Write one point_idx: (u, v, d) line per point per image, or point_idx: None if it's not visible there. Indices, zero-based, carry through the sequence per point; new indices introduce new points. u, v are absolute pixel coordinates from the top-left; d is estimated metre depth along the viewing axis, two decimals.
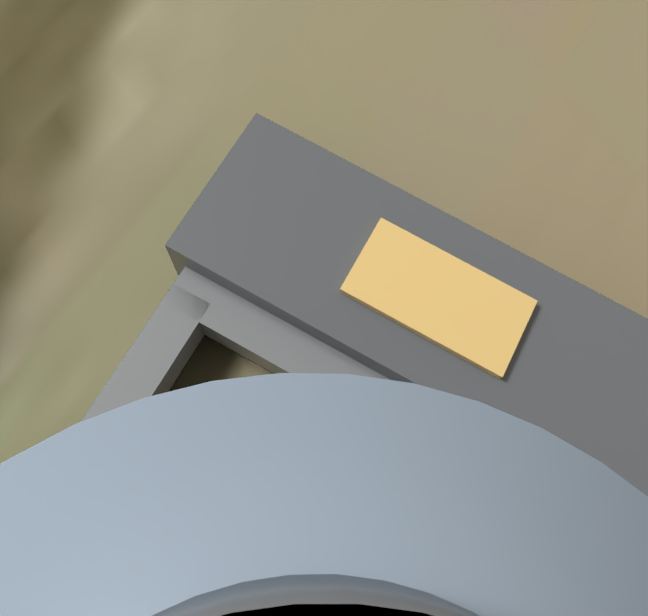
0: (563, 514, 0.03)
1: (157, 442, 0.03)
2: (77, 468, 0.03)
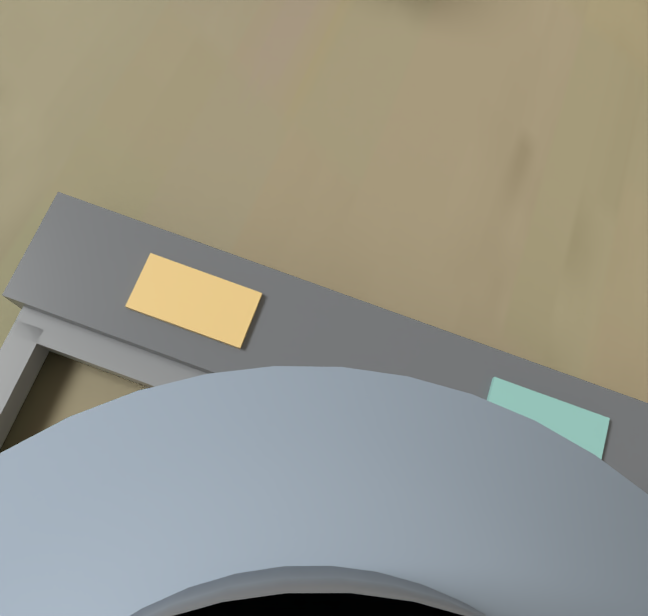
0: (556, 506, 0.03)
1: (151, 434, 0.03)
2: (71, 458, 0.03)
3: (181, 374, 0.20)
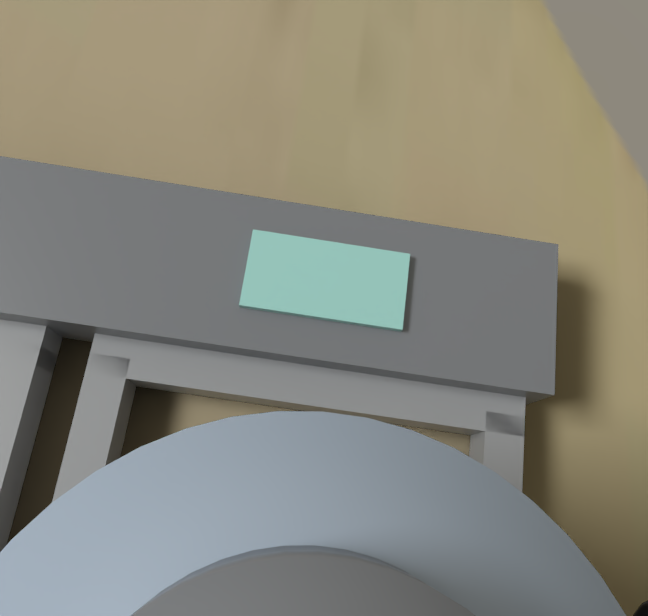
0: (466, 506, 0.04)
1: (195, 458, 0.04)
2: (143, 473, 0.04)
3: None
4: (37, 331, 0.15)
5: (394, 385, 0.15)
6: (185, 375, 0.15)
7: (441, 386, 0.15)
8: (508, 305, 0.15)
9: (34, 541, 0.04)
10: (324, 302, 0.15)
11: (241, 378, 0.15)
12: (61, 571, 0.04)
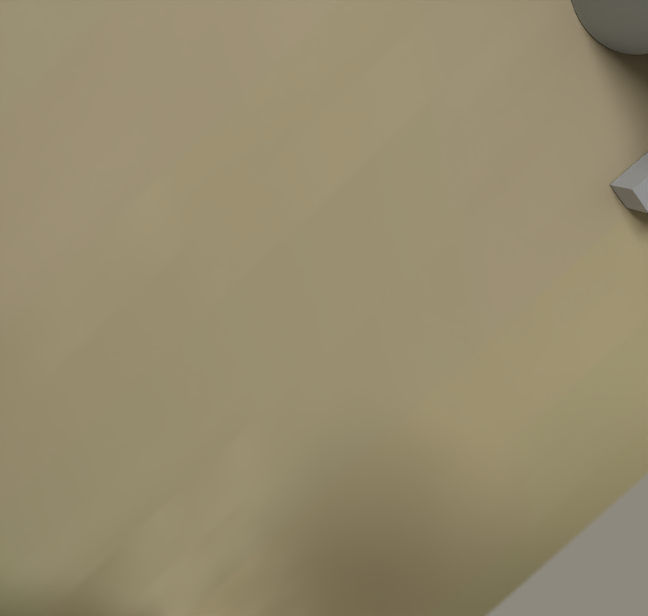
0: None
1: None
2: None
3: None
4: None
5: None
6: None
7: None
8: None
9: None
10: None
11: None
12: None
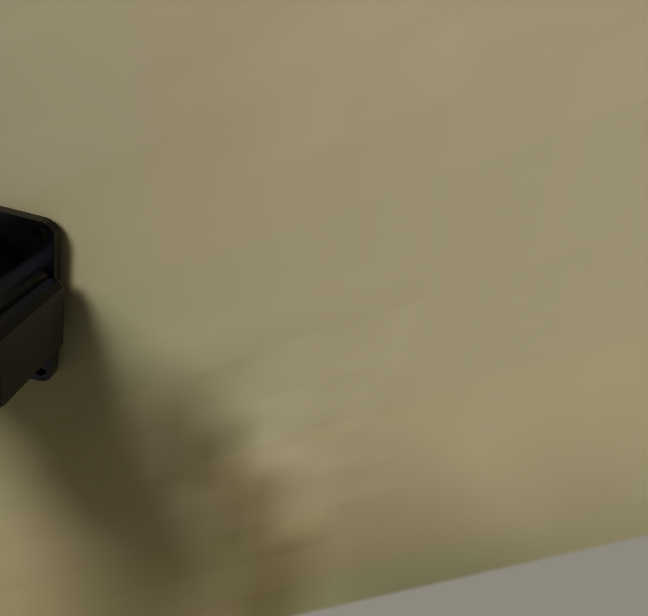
0: None
1: None
2: None
3: None
4: None
5: None
6: None
7: None
8: None
9: None
10: None
11: None
12: None
